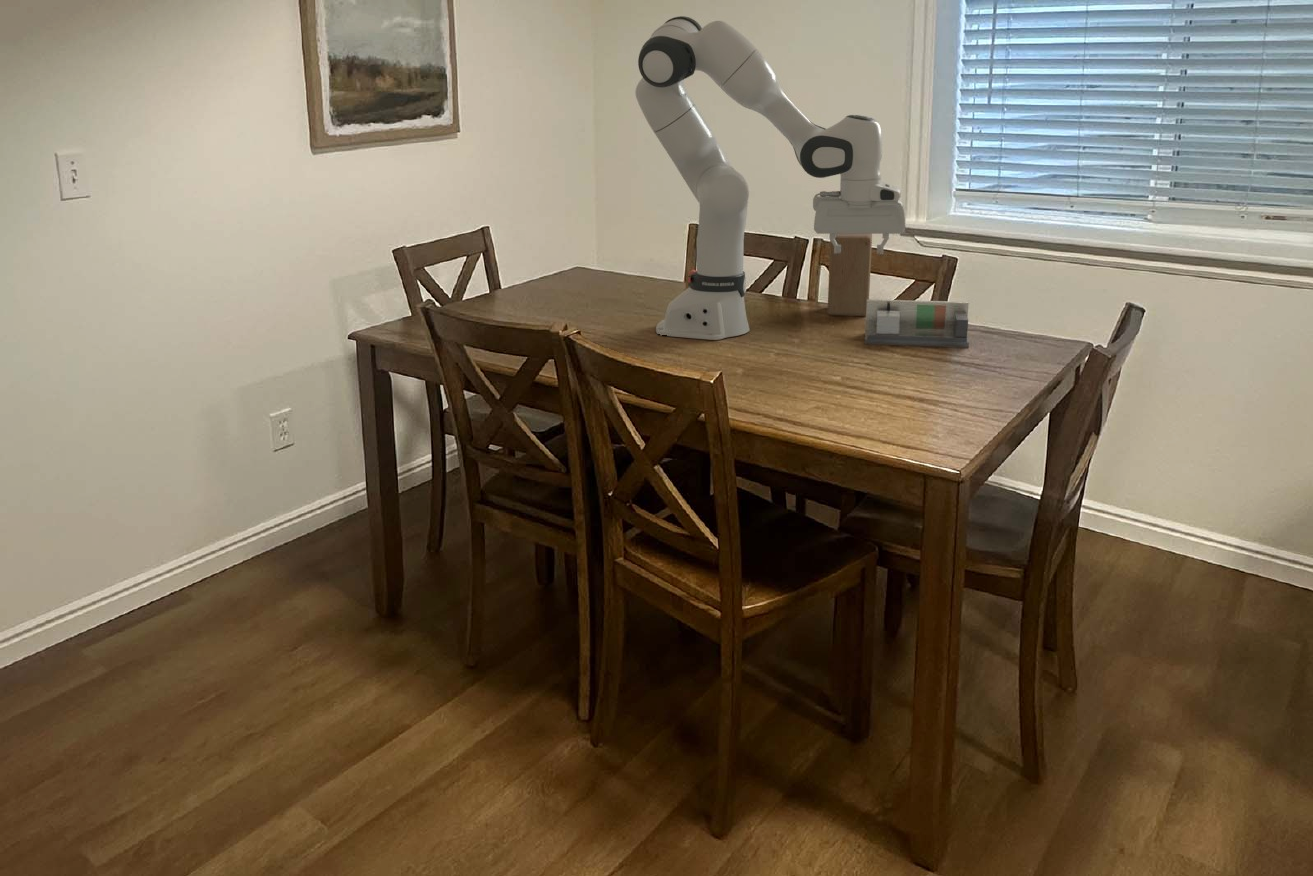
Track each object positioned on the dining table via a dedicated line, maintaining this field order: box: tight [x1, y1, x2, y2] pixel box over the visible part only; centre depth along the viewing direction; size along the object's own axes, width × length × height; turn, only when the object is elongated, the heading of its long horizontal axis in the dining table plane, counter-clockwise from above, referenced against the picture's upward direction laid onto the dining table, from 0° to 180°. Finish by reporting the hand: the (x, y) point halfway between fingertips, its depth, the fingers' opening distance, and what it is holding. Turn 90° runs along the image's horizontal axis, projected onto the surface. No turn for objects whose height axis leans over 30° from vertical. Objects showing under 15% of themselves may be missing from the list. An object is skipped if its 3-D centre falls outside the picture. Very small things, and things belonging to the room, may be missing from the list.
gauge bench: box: [864, 298, 970, 349], centre depth 258 cm, size 23×10×8 cm, turn 79°
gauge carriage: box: [876, 303, 900, 335], centre depth 258 cm, size 5×7×6 cm
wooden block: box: [827, 234, 873, 317], centre depth 282 cm, size 10×10×20 cm
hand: (858, 253), depth 254 cm, fingers open, 8 cm apart
